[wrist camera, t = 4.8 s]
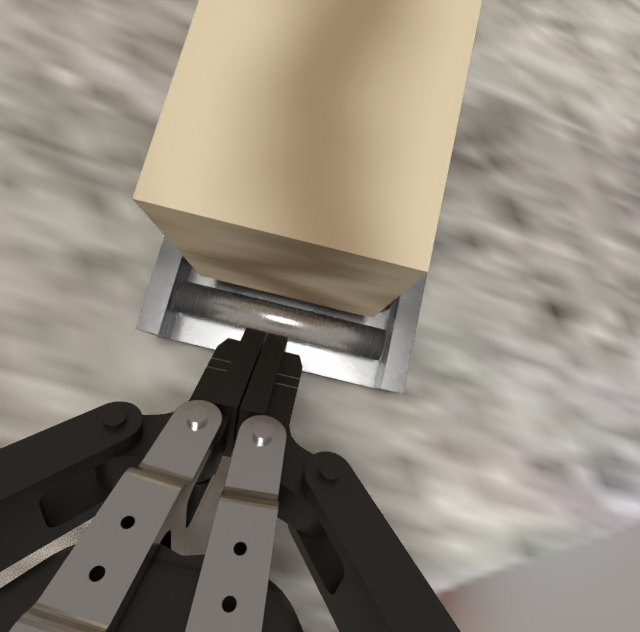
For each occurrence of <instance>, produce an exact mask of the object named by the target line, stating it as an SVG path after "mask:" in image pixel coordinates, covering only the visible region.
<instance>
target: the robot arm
mask: <svg viewBox="0 0 640 632" xmlns="http://www.w3.org/2000/svg"><path fill="white" fill-rule="evenodd" d="M287 343H288V337H285V336H281V335H277V334H273V333H268V335H267V332H264V331H260V330H256V329H252V328H248V327H247V328H246V329H245V331H244V334H243V336H242V338H241V340H240V341H239V340H235V339H231V338H227V339H226V340H225V341H223V342H222V343H221V344H219V345H218V346H217V348H216V350H215V352H214V354H213V356H212V358H211V359H210V361H209V363H208V365H207V367H206V369H205V371H204V373H203V375H202V377H201V379H200V381H199V383H198V385H197V387H196V388H195V390H194V392H193V394H192V396H191V398H190V400H189V401H188V402H186V403H184V404H182V405H181V406H179V407H178V408H177V409H176V410H175V411H174V412H171V413H168V414H160V415H142V413H141V411H140V410H139V408H138V407H136V406H135V405H133V404H131V403H128V402H112V403H108V404H105V405H102V406H100V407H98V408H95V409H93V410H91V411H88V412H86V413H84V414H81V415H79V416H77V417H74V418H72V419H69V420H67V421H65V422H62V423H60V424H58V425H55V426H53V427H51V428H48V429H46V430H44V431H41V432H39V433H36V434H34V435H32V436H29V437H27V438H25V439H22V440H20V441H18V442H15V443H13V444H11V445H8V446H6V447H3V448H1V449H0V572H1V571H2V570H4V569H6V568H8V567H9V566H11V565H13V564H14V563H16V562H18V561H20V560H21V559H23V558H25V557H26V556H28V555H30V554H31V553H33V552H35V551H37V550H38V549H40V548H42V547H43V546H45V545H47V544H49V543H50V542H52V541H54V540H55V539H57V538H59V537H61V536H62V535H64V534H66V533H67V532H69V531H71V530H72V529H74V528H76V527H78V526H79V525H81V524H83V523H84V522H86V521H88V520H90V519H91V518H93V517H94V518H93V520H92V521H91V523H90V524H89V526H88V527H87V529H86V530H85V532H84V533H83V535H82V536H81V538H80V539H79V541H78V542H77V543H76V544H75V545H72V546H70V547H67V548H65V549H63V550H61V551H59V552H57V553H55V554H53V555H52V556H50V557H48V558H47V559H45V560H44V561H42V562H41V563H39V564H37V565H36V566H34V567H33V568H31V569H30V570H28V571H27V572H25V573H23V574H22V575H20V576H19V577H17V578H16V579H14V580H13V581H11V582H9V583H8V584H6V585H5V586H3V587H2V588H0V632H303V630H302V627H301V625H300V622H299V620H298V617H297V615H296V613H295V610H294V609H293V607H292V605H291V603H290V602H289V600H288V599H287V597H286V596H285V595H284V593H283V592H282V591H281V590H280V589H279V588H278V587H277V586H276V585H275V584H274V583H273V582H272V581H271V580H269V572H270V565H271V558H272V550H273V543H274V535H275V528H276V521H277V517H278V518H280V519H281V520H283V521H285V522H286V523H288V527H289V530H290V533H291V535H292V537H293V539H294V541H295V543H296V545H297V547H298V549H299V551H300V553H301V555H302V557H303V559H304V561H305V563H306V565H307V567H308V569H309V571H310V573H311V575H312V577H313V579H314V581H315V583H316V585H317V587H318V589H319V591H320V593H321V595H322V597H323V599H324V601H325V603H326V605H327V607H328V609H329V611H330V613H331V615H332V617H333V619H334V621H335V624H336V626H337V628H338V630H339V632H460V630H459V629H458V627H457V626H456V624H455V623H454V621H453V620H452V618H451V617H450V615H449V614H448V612H447V611H446V609H445V608H444V606H443V605H442V603H441V602H440V600H439V599H438V597H437V596H436V594H435V593H434V591H433V590H432V588H431V587H430V585H429V584H428V582H427V581H426V579H425V578H424V576H423V575H422V573H421V572H420V570H419V569H418V567H417V566H416V564H415V563H414V561H413V560H412V558H411V557H410V555H409V554H408V552H407V551H406V549H405V548H404V546H403V545H402V543H401V542H400V540H399V539H398V537H397V536H396V534H395V533H394V531H393V530H392V528H391V527H390V525H389V524H388V522H387V521H386V519H385V518H384V516H383V515H382V513H381V512H380V510H379V509H378V507H377V506H376V504H375V503H374V501H373V500H372V498H371V497H370V495H369V494H368V492H367V491H366V489H365V488H364V486H363V485H362V483H361V482H360V480H359V479H358V477H357V476H356V474H355V473H354V471H353V470H352V468H351V467H350V465H349V464H348V462H347V461H346V460H345V459H344V458H342V457H341V456H339V455H337V454H335V453H332V452H319V453H316V454H314V455H313V454H312V453H310V452H308V451H307V450H305V449H303V448H302V447H300V446H299V445H298V444H297V443H296V442H295V441H294V439H293V438H292V436H291V433H290V430H289V424H290V419H291V414H292V410H293V406H294V402H295V397H296V393H297V389H298V385H299V380H300V376H301V372H302V367H303V366H302V363H301V359H300V356H299V355H297V354H293V353H289V352H286V347H287ZM233 449H234V451H233ZM232 452H233V455H232ZM223 455H224V456H229V457H231V455H232V459H231V463H230V467H229V471H228V475H227V479H226V483H225V486H224V490H223V491H222V493H221V496H220V500H219V503H218V507H217V511H216V515H215V519H214V523H213V526H212V530H211V534H210V538H209V542H208V546H207V550H206V553H205V555H193V556H183V552H184V548H185V545H186V541H187V538H188V535H189V533H190V531H191V528H192V526H193V524H194V522H195V520H196V518H197V515H198V513H199V511H200V509H201V507H202V505H203V502H204V500H205V498H206V496H207V494H208V492H209V489H210V487H211V485H212V483H213V481H214V479H215V476H216V471H217V469H218V467H219V464H220V462H221V459H222V456H223Z"/></svg>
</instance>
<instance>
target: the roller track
mask: <svg viewBox="0 0 640 632" xmlns="http://www.w3.org/2000/svg"><path fill="white" fill-rule="evenodd" d="M426 277H427V273H426V274H425V275H424V276H423V277H421V278H420V279H419V280H418V281H417V282H415V283H414V284H413V285H412V286H411V287H409V288H408V289H407V290H406V291H404V292H403V293H402V294H401V295H400V296H398V297H397V298H396V299H395V300H394V301H392V302H391V303H390V304H389V305H388V306H386V307H385V308H384V309H383V310H382V311H380V312H379V313H378V314H377V315H376V316H374V317H373V318H371V317H367V316H362V315H358V314H354V313H350V312H346V311H342V310H338V309H334V308H330V307H326V306H322V305H318V304H314V303H309V302H305V301H301V300H297V299H293V298H289V297H285V296H281V295H277V294H273V293H269V292H265V291H260V290H256V289H252V288H248V287H244V286H240V285H236V284H232V283H228V282H224V281H220V280H216V279H212V278H207V277H203V276H200V274H199V273H198V272H197V271H196V270H195V269H194V268H193V266H192V265H191V264H190V263H189V262H188V261H187V260H186V259H185V257H184V256H183V255H182V254H181V253H180V252H179V251H178V250H177V248H176V247H175V246H174V245H173V244H172V243H171V242H170V241H169V239H168V238H167V237H166V236H165V237H164V240H163V243H162V246H161V250H160V253H159V256H158V259H157V262H156V265H155V269H154V272H153V275H152V278H151V281H150V284H149V288H148V291H147V294H146V297H145V300H144V303H143V307H142V310H141V313H140V316H139V319H138V322H137V325H136V329H137V330H140V331H143V332H146V333H149V334H152V335H155V336H159V337H163V338H167V339H171V340H175V341H180V342H184V343H188V344H192V345H196V346H200V347H204V348H208V349H213V350H216V348H217V346H218V345H219V344H221V343H222V342H223V341H225V340H226V339H227V338H231V339H235V340H239V341H240V340H241V338H242V336H243V334H244V331H245V329H246V328H247V327H248V328H252V329H256V330H260V331H264V332H267V335H268V333H273V334H277V335H281V336H285V337H288V343H287V347H286V352H289V353H293V354H297V355H299V356H300V359H301V363H302V366H303V367H302V371H304V372H308V373H312V374H316V375H320V376H324V377H329V378H333V379H337V380H341V381H345V382H349V383H353V384H357V385H362V386H366V387H370V388H374V389H378V390H382V391H386V392H393V393H402V394H403V392H404V387H405V382H406V377H407V372H408V367H409V362H410V357H411V352H412V347H413V342H414V337H415V332H416V327H417V322H418V317H419V312H420V307H421V302H422V297H423V292H424V287H425V282H426Z"/></svg>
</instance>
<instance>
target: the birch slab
mask: <svg viewBox="0 0 640 632" xmlns="http://www.w3.org/2000/svg"><path fill="white" fill-rule="evenodd" d="M481 4H482V0H199V2H198V5H197V8H196V11H195V14H194V17H193V20H192V23H191V26H190V29H189V32H188V35H187V38H186V41H185V44H184V47H183V50H182V53H181V56H180V59H179V61H178V64H177V67H176V70H175V73H174V76H173V79H172V82H171V85H170V88H169V91H168V94H167V97H166V100H165V103H164V106H163V109H162V112H161V115H160V118H159V121H158V124H157V127H156V130H155V133H154V136H153V139H152V142H151V145H150V148H149V151H148V154H147V157H146V160H145V163H144V166H143V169H142V172H141V175H140V178H139V181H138V184H137V187H136V189H135V192H134V195H133V198H132V199H133V200H134V201H135V202H136V203H137V204H138V206H139V207H140V208H141V209H142V210H143V211H144V212H145V213H146V215H147V216H148V217H149V218H150V219H151V220H152V221H153V222H154V224H155V225H156V226H157V227H158V228H159V229H160V230H161V231H162V233H163V234H164V235H165V236H166V237H167V238H168V239H169V241H170V242H171V243H172V244H173V245H174V246H175V247H176V248H177V250H178V251H179V252H180V253H181V254H182V255H183V256H184V257H185V259H186V260H187V261H188V262H189V263H190V264H191V265H192V266H193V268H194V269H195V270H196V271H197V272H198V273H199V274H200V276H203V277H207V278H212V279H216V280H220V281H224V282H228V283H232V284H236V285H240V286H244V287H248V288H252V289H256V290H260V291H265V292H269V293H273V294H277V295H281V296H285V297H289V298H293V299H297V300H301V301H305V302H309V303H314V304H318V305H322V306H326V307H330V308H334V309H338V310H342V311H346V312H350V313H354V314H358V315H362V316H367V317H371V318H373V317H374V316H376V315H377V314H378V313H379V312H380V311H382V310H383V309H384V308H385V307H386V306H388V305H389V304H390V303H391V302H392V301H394V300H395V299H396V298H397V297H398V296H400V295H401V294H402V293H403V292H404V291H406V290H407V289H408V288H409V287H411V286H412V285H413V284H414V283H415V282H417V281H418V280H419V279H420V278H421V277H423V276H424V275H425V274H426V273H427V272H428V269H429V264H430V259H431V254H432V249H433V244H434V239H435V234H436V229H437V224H438V219H439V214H440V209H441V204H442V199H443V194H444V189H445V184H446V179H447V174H448V169H449V164H450V159H451V154H452V149H453V144H454V139H455V134H456V129H457V124H458V119H459V114H460V109H461V104H462V99H463V94H464V89H465V84H466V79H467V74H468V69H469V64H470V59H471V54H472V49H473V44H474V39H475V34H476V29H477V24H478V19H479V14H480V9H481Z"/></svg>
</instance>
